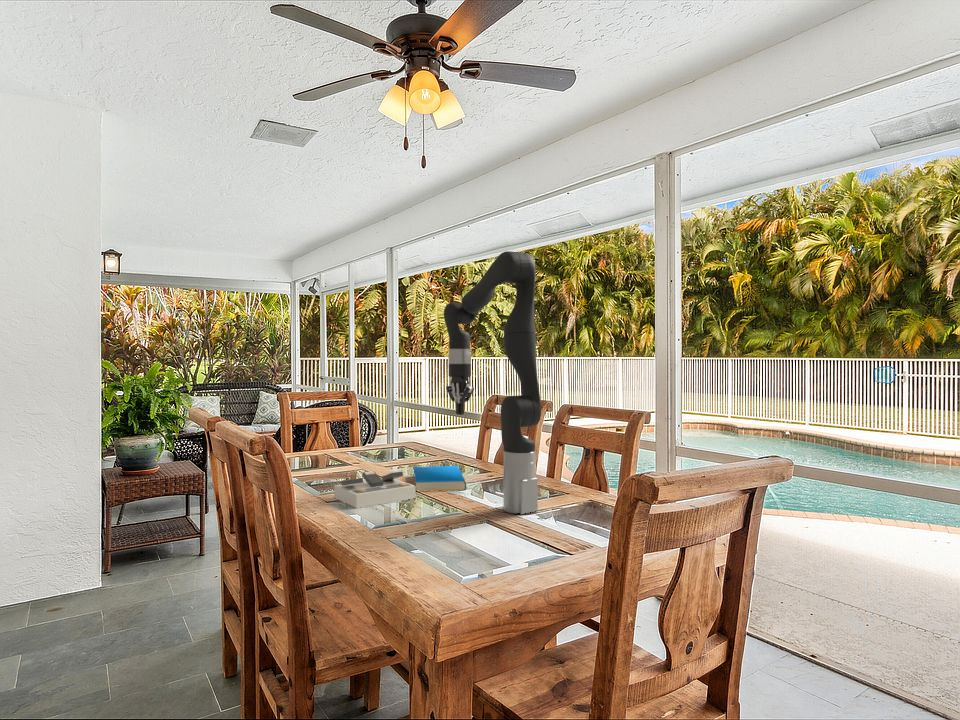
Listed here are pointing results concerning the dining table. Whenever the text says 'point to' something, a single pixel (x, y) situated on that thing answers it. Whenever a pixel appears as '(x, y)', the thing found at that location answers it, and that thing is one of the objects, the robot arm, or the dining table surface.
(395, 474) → the rocker
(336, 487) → the switch unit
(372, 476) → the rocker
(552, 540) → the dining table surface
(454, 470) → the book
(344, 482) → the rocker
